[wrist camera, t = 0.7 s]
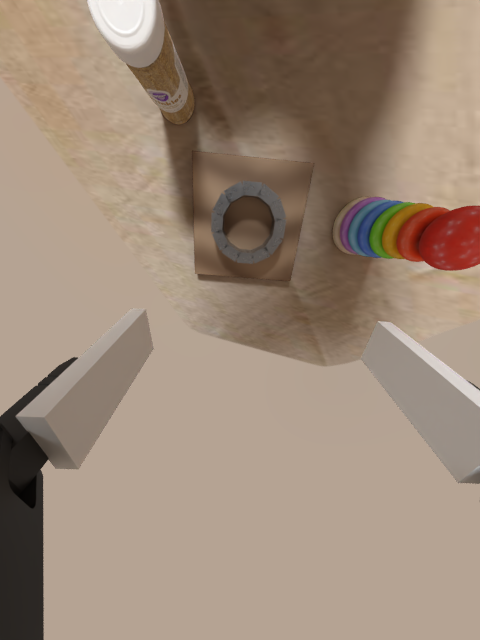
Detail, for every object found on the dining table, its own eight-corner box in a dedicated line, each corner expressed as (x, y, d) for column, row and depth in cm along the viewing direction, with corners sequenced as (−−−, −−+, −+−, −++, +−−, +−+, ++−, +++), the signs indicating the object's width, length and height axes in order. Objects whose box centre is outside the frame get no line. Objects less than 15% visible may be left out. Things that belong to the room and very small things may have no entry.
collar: (214, 181, 27) (212, 177, 25) (287, 188, 28) (292, 185, 25) (213, 256, 32) (211, 260, 29) (275, 261, 32) (278, 266, 30)
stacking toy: (332, 259, 34) (421, 304, 17) (328, 207, 30) (434, 200, 14) (382, 244, 33) (528, 277, 16) (383, 189, 29) (572, 157, 13)
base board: (194, 153, 27) (192, 150, 26) (310, 165, 28) (314, 163, 27) (196, 271, 35) (194, 273, 33) (288, 278, 35) (290, 281, 34)
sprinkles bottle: (166, 129, 26) (104, 60, 14) (152, 80, 24) (66, -50, 12) (200, 120, 26) (165, 40, 14) (189, 69, 24) (137, -77, 12)
